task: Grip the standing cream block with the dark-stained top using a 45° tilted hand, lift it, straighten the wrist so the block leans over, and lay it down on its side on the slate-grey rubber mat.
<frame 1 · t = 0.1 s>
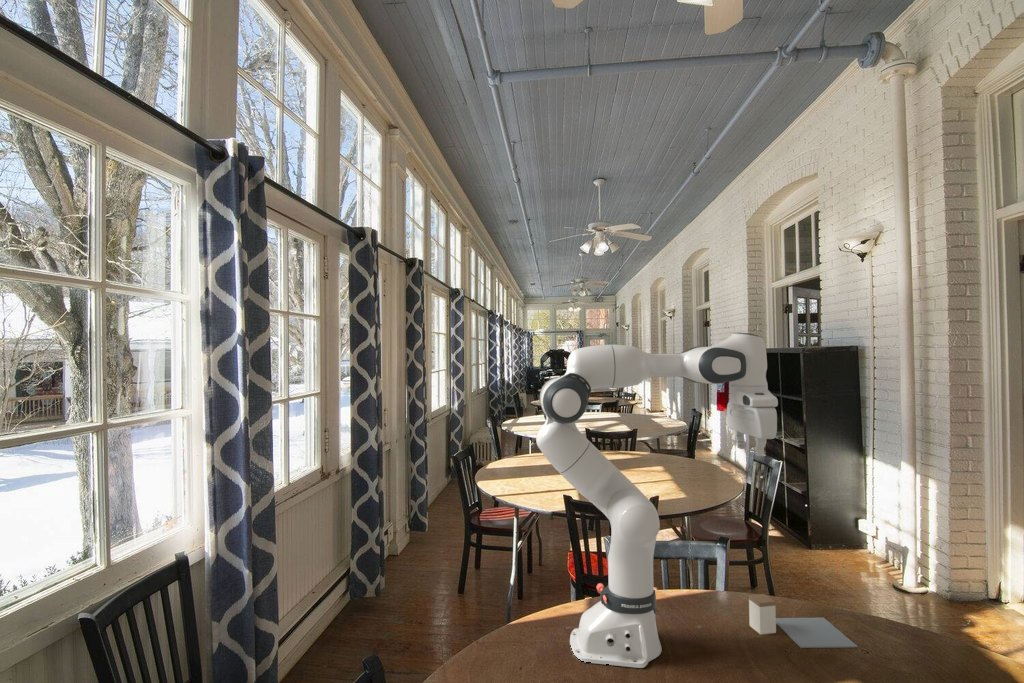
hand: (750, 451, 131), 48 cm above the table, tool pointing down, fingers open, 8 cm apart
slate mat: (812, 632, 135), on the table
cream block: (762, 629, 137), on the table
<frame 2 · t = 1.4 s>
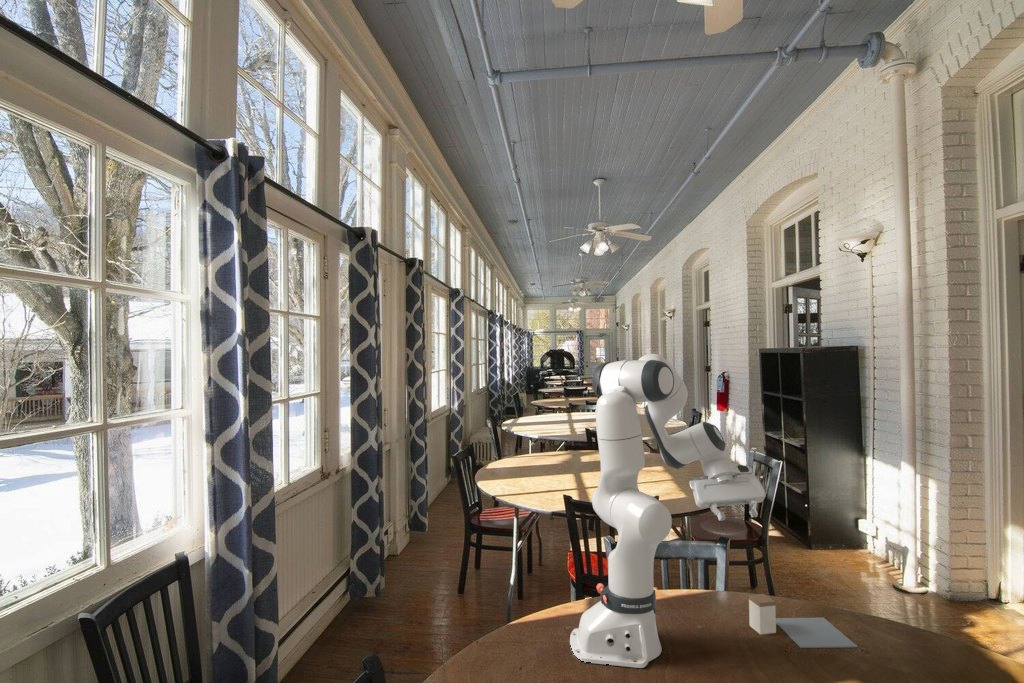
hand: (738, 518, 148), 26 cm above the table, tool tilted 45°, fingers open, 8 cm apart
nothing on the table moved.
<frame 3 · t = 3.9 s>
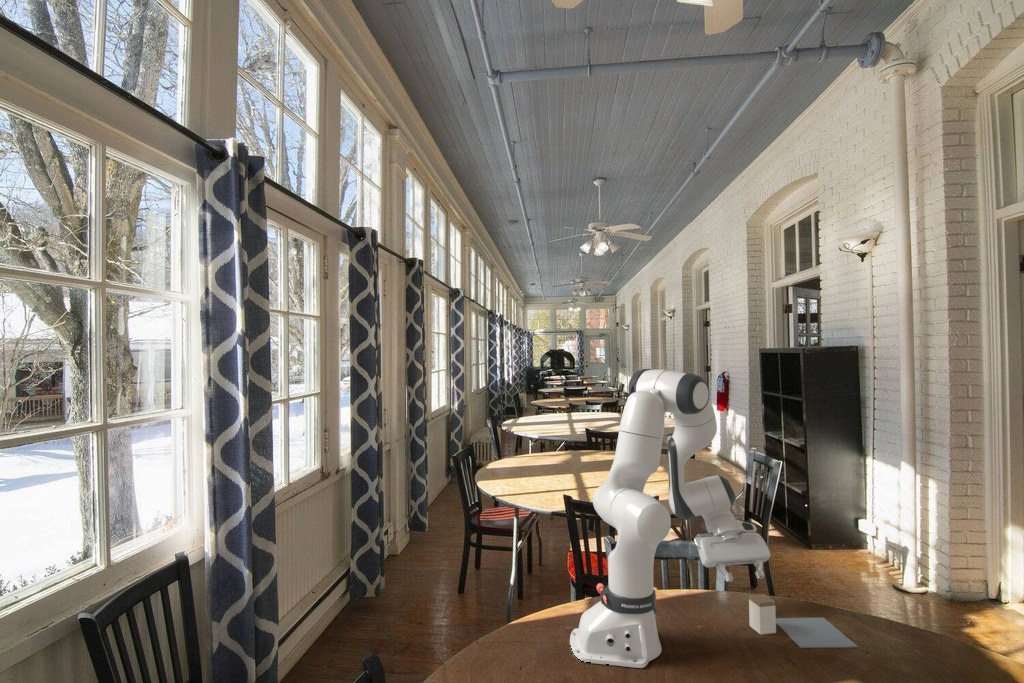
hand: (745, 579, 144), 10 cm above the table, tool tilted 45°, fingers open, 8 cm apart
nothing on the table moved.
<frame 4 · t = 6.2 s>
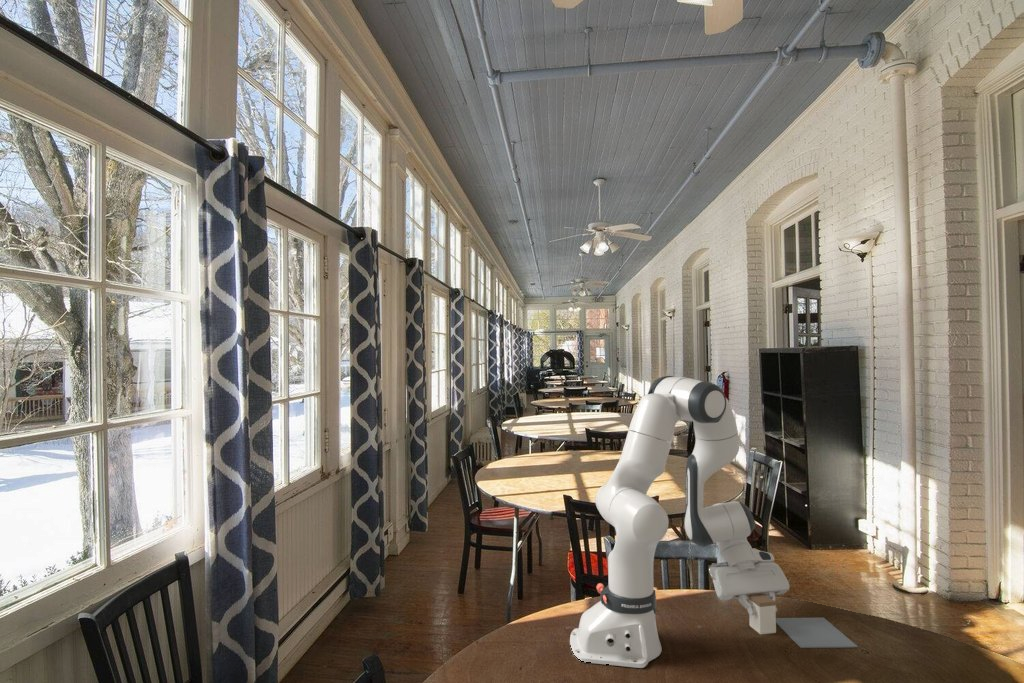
hand: (763, 613, 136), 4 cm above the table, tool tilted 45°, fingers closed on cream block, 4 cm apart
cream block: (762, 629, 137), on the table, touching gripper
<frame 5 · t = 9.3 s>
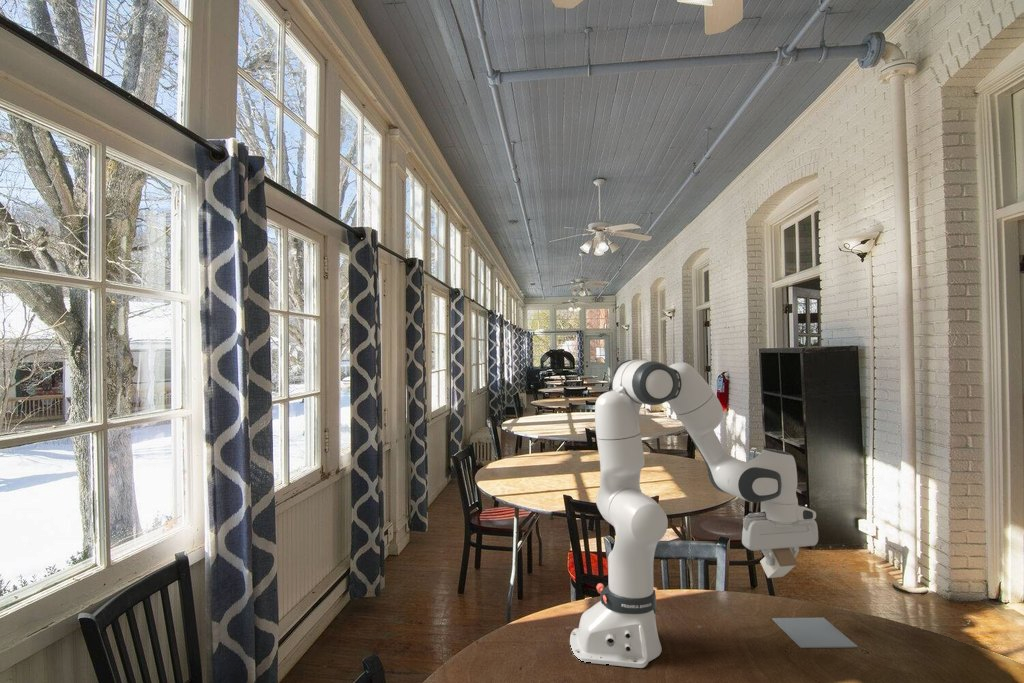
hand: (780, 564, 137), 17 cm above the table, tool pointing down, fingers closed on cream block, 4 cm apart
cream block: (771, 569, 140), point 14 cm above the table, tilted 45°, touching gripper
when the fingers open (6 cm above the table, at t = 12.7 s): cream block moves 2 cm and tips over, resting on slate mat.
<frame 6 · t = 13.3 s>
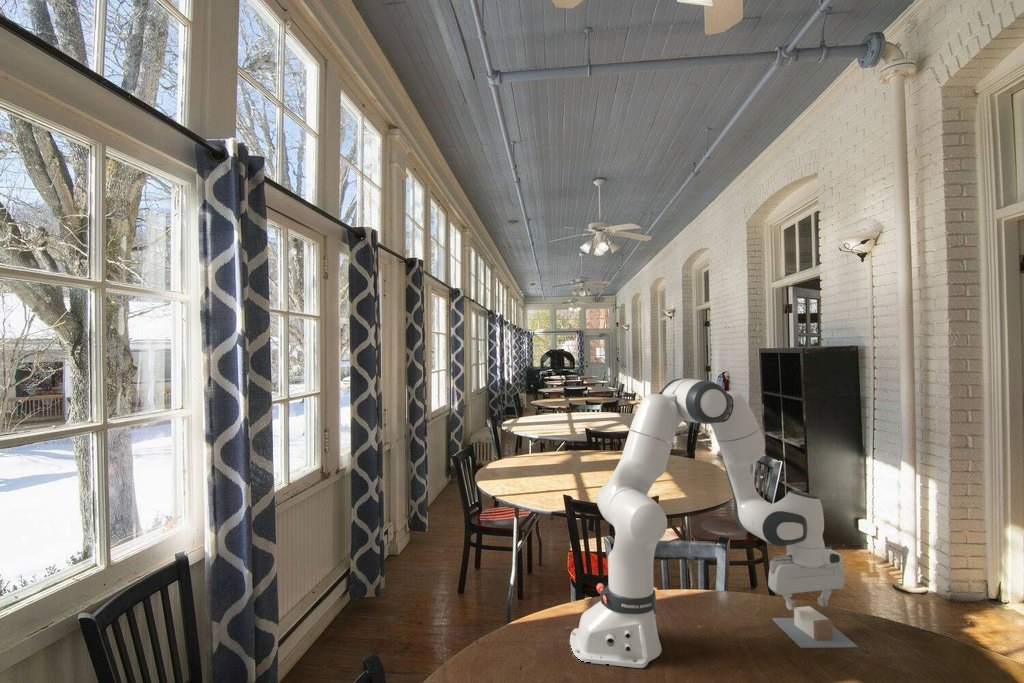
hand: (806, 607, 137), 6 cm above the table, tool pointing down, fingers open, 8 cm apart
cream block: (801, 615, 138), point 3 cm above the table, tilted 90°, touching slate mat
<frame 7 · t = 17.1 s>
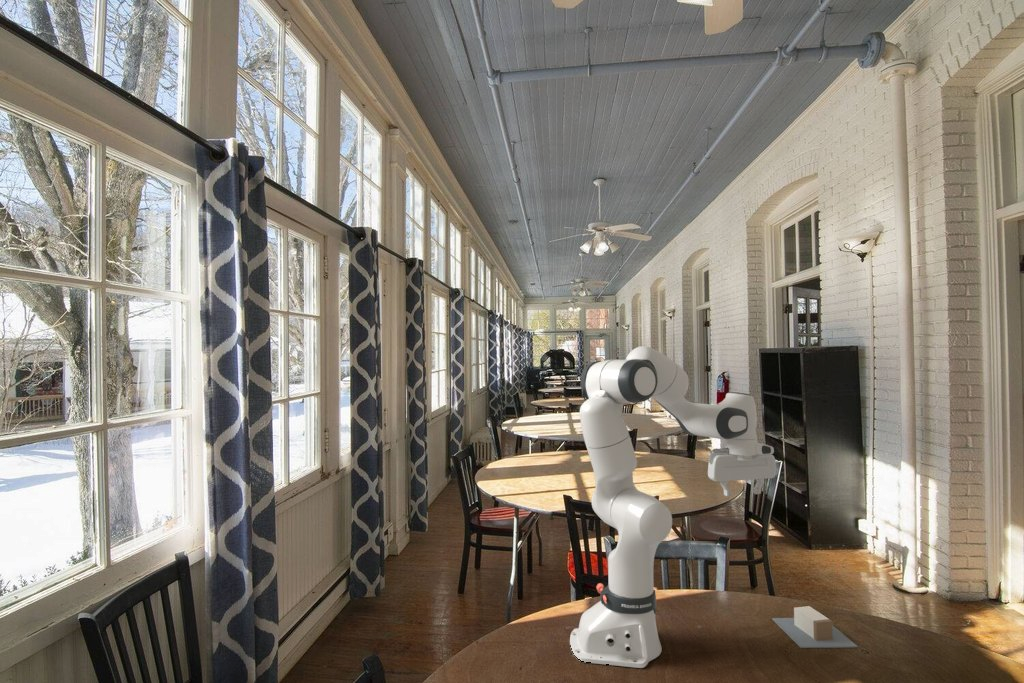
hand: (742, 494, 153), 31 cm above the table, tool pointing down, fingers open, 8 cm apart
nothing on the table moved.
at the end: cream block tilted 90°; cream block inside the target area on the slate mat (3.4 cm from its centre), point 2.5 cm above the slate mat's base; the gripper is holding nothing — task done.
